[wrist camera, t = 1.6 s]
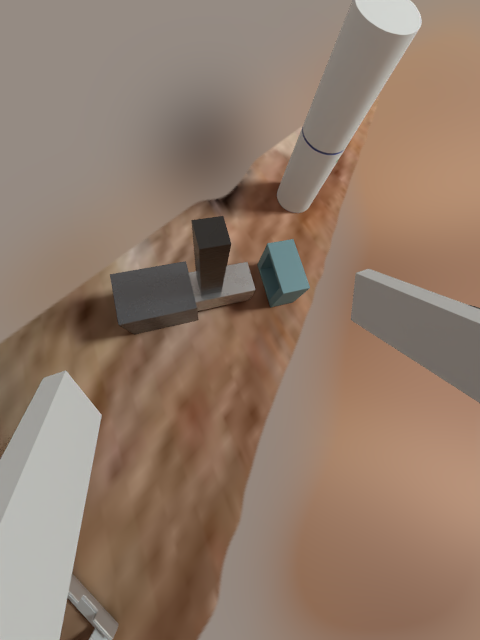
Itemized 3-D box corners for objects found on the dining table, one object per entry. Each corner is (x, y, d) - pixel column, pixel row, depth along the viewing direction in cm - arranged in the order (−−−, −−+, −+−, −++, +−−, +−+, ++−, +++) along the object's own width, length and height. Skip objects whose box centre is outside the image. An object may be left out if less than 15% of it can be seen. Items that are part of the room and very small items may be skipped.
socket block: (270, 307, 41) (283, 293, 34) (257, 264, 42) (267, 243, 35) (292, 302, 41) (309, 287, 35) (279, 260, 43) (293, 239, 36)
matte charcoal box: (134, 334, 36) (118, 324, 30) (126, 292, 38) (109, 274, 31) (198, 320, 38) (197, 308, 32) (189, 280, 40) (185, 261, 33)
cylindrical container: (270, 189, 46) (340, -11, 22) (297, 177, 48) (391, -21, 24) (289, 218, 45) (385, 41, 21) (317, 204, 47) (434, 27, 23)
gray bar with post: (137, 324, 36) (78, 278, 19) (132, 295, 36) (71, 228, 20) (249, 299, 39) (283, 243, 22) (242, 274, 40) (269, 202, 23)
